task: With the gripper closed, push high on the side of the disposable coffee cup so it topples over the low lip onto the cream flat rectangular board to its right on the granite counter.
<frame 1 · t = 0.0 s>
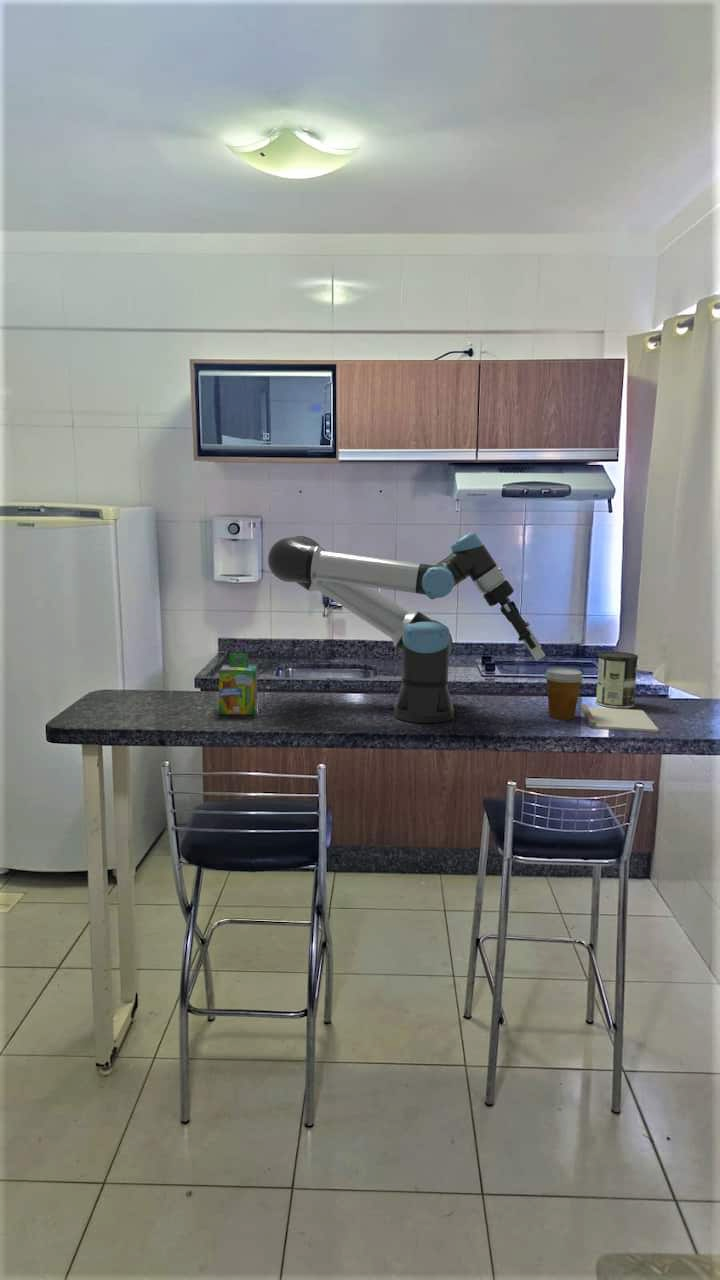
hand: (539, 653, 210), 15 cm above the countertop, tool tilted 35°, fingers open, 13 cm apart
coffee can: (614, 705, 221), on the countertop
chalk box: (238, 712, 204), on the countertop
disposable coffee cup: (561, 717, 206), on the countertop
cream flat rectangular board: (617, 719, 204), on the countertop
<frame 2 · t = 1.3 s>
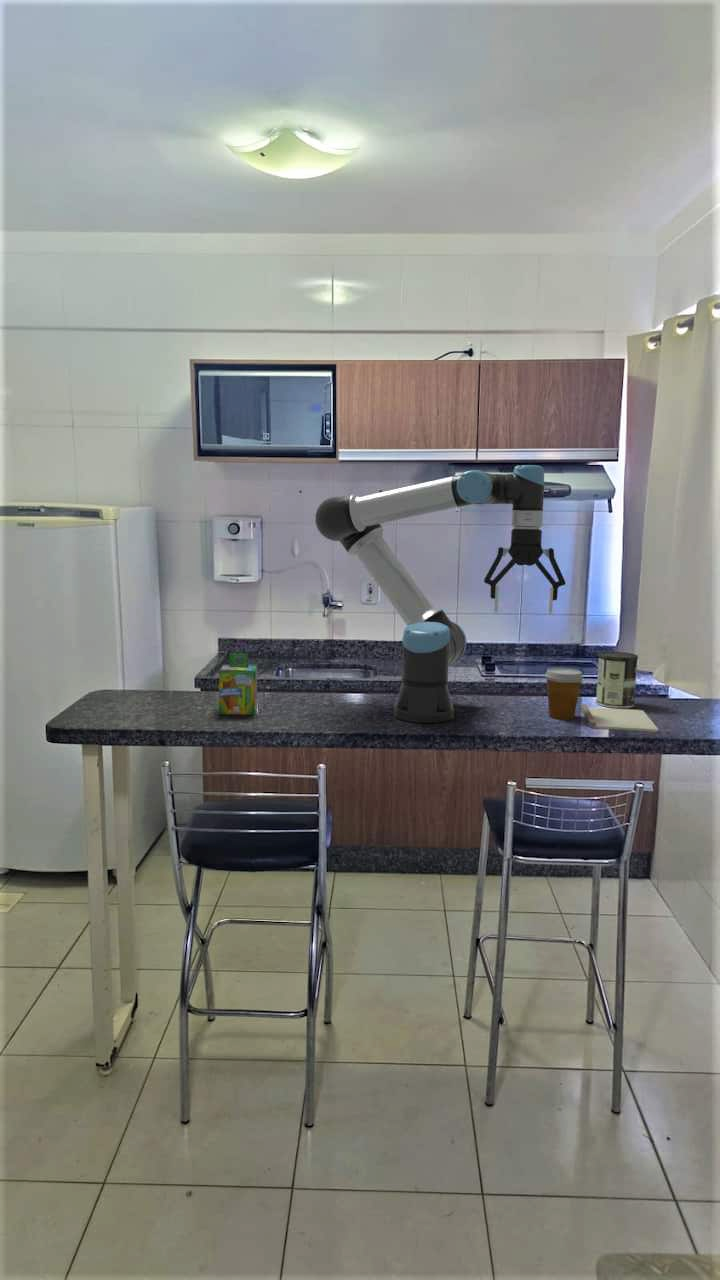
hand: (522, 612, 204), 27 cm above the countertop, tool pointing down, fingers open, 13 cm apart
nothing on the countertop moved.
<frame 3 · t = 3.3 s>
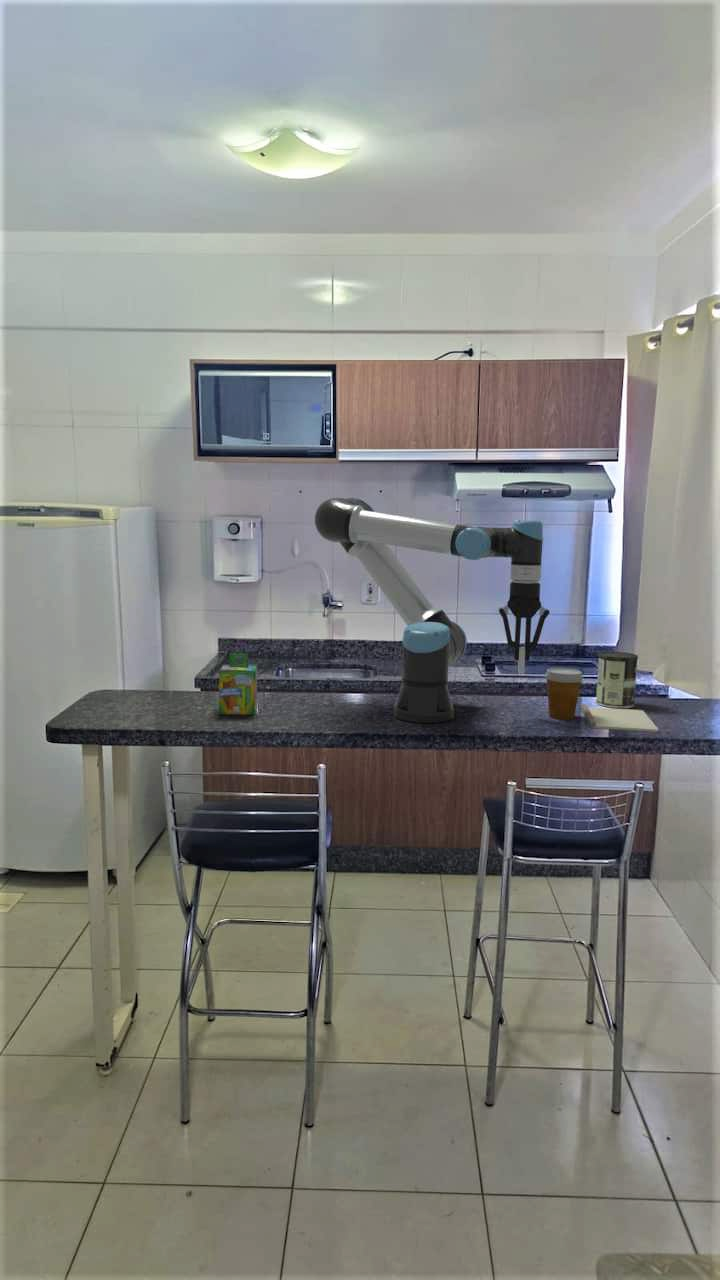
hand: (520, 672, 206), 11 cm above the countertop, tool pointing down, fingers closed
nothing on the countertop moved.
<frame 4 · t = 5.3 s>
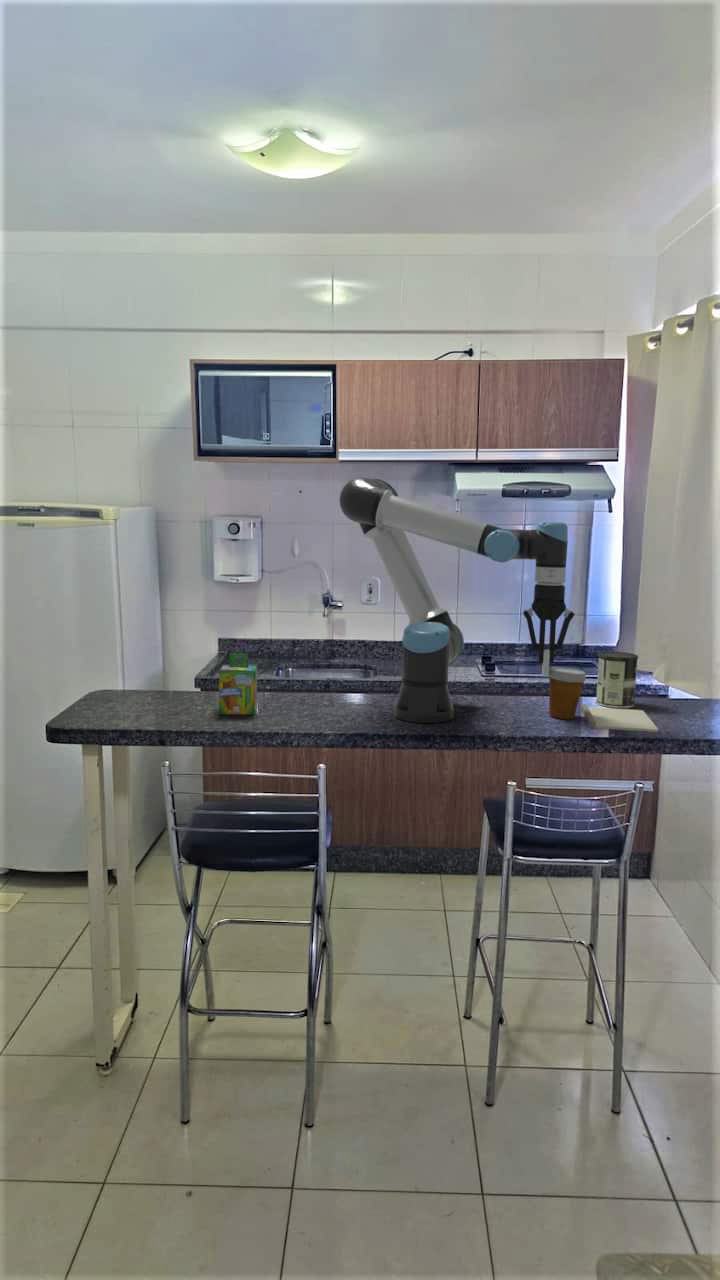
hand: (545, 675, 205), 11 cm above the countertop, tool pointing down, fingers closed
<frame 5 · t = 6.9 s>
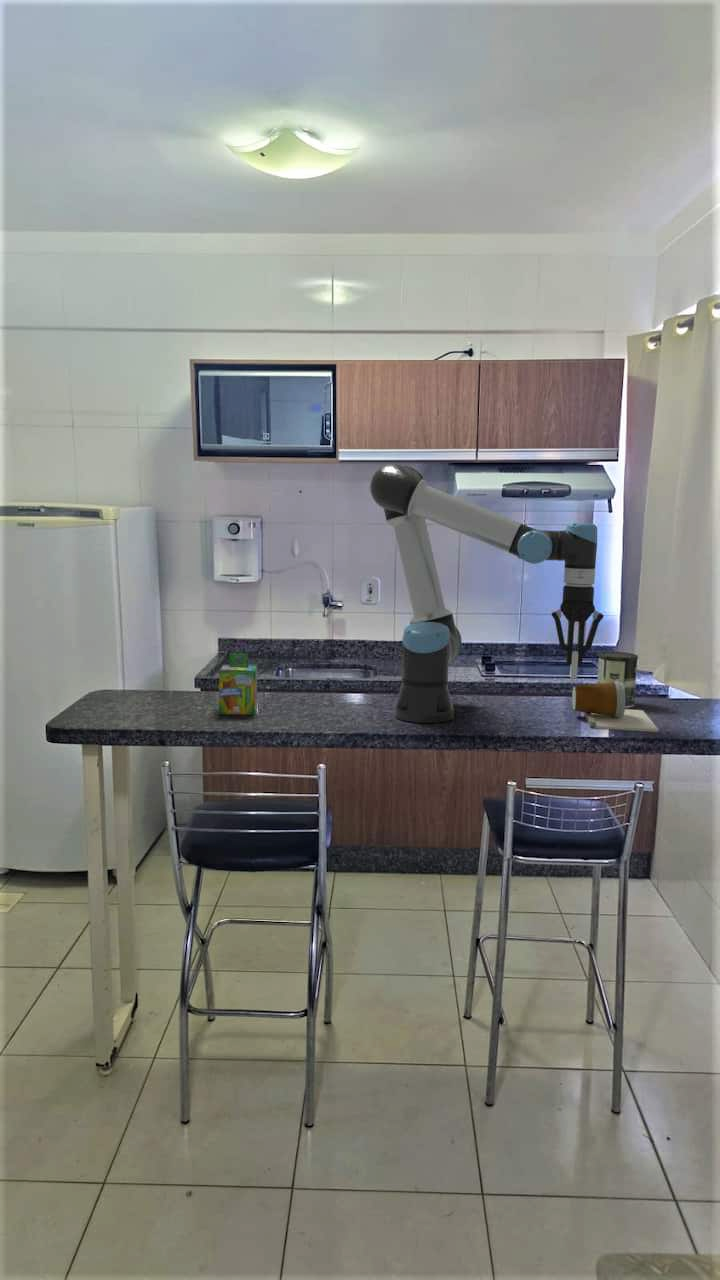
hand: (573, 677, 204), 11 cm above the countertop, tool pointing down, fingers closed
disposable coffee cup: (572, 698, 205), point 5 cm above the countertop, touching cream flat rectangular board
everything else where it was.
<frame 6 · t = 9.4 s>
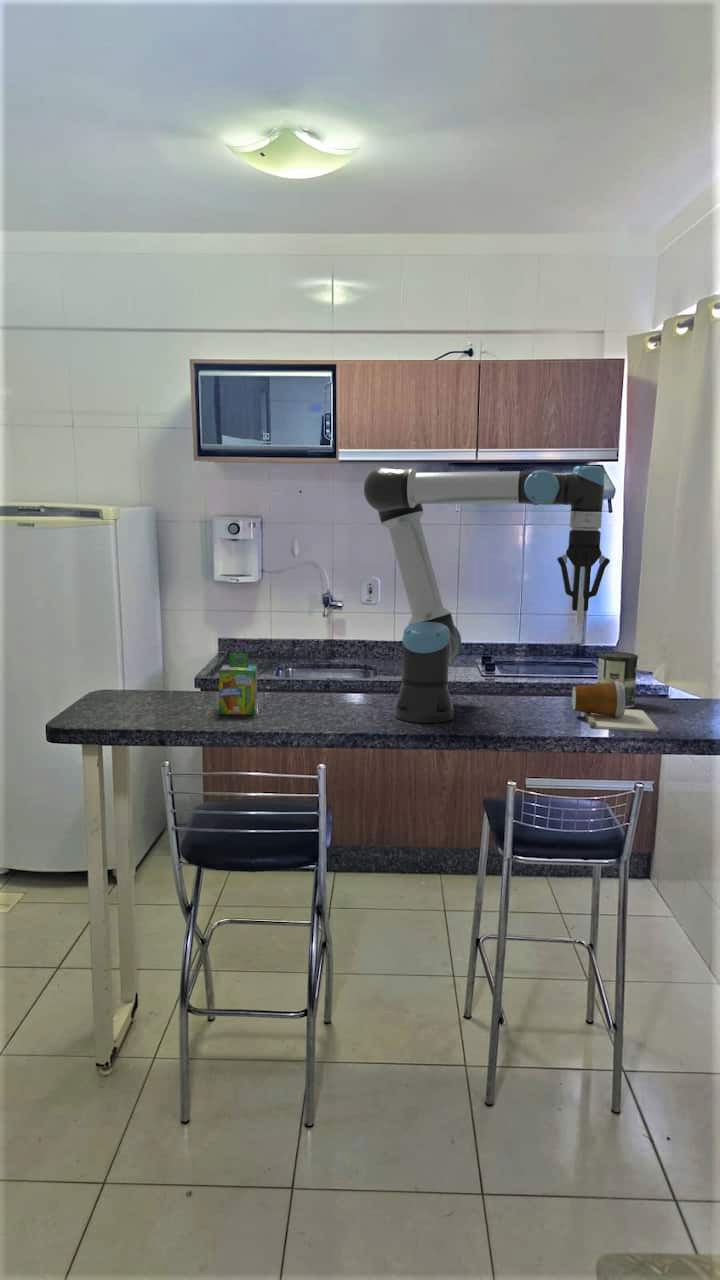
hand: (578, 623, 202), 24 cm above the countertop, tool pointing down, fingers closed
nothing on the countertop moved.
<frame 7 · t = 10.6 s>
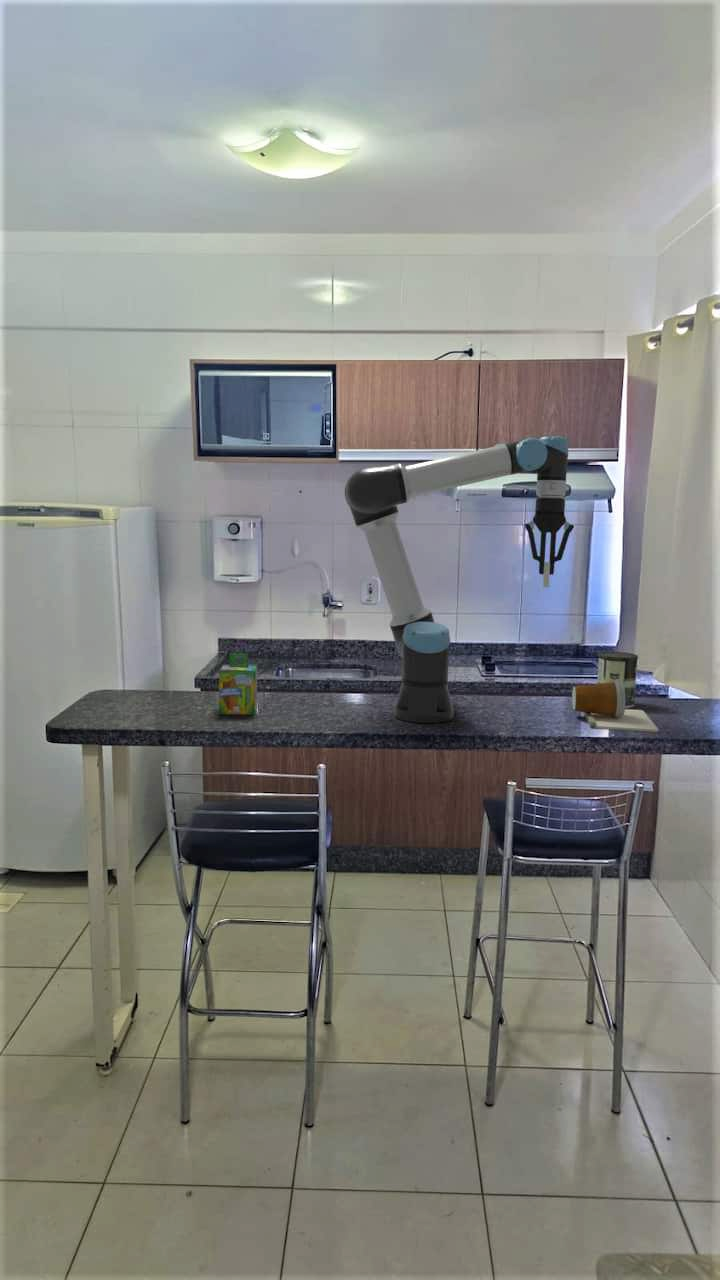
hand: (545, 586, 213), 32 cm above the countertop, tool pointing down, fingers closed
nothing on the countertop moved.
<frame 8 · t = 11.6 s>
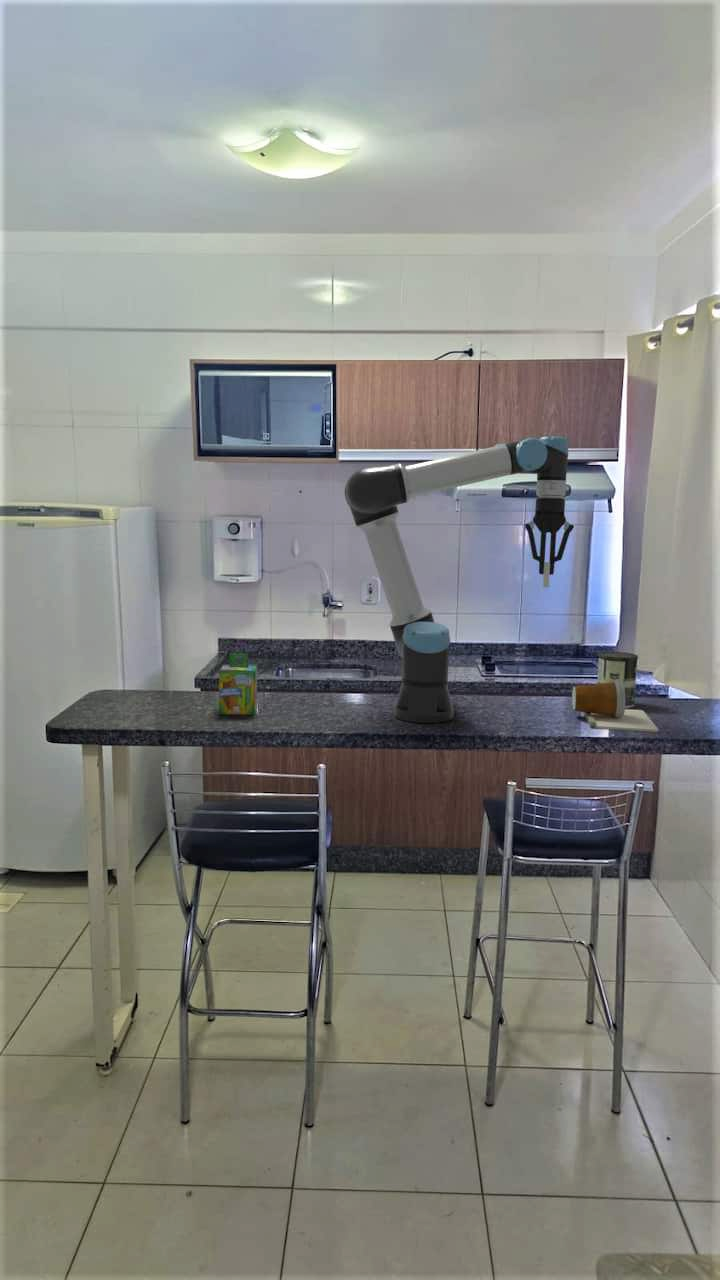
hand: (545, 586, 213), 32 cm above the countertop, tool pointing down, fingers closed
nothing on the countertop moved.
at the end: disposable coffee cup tilted 88°; disposable coffee cup inside the target area (9.9 cm from its centre), point 4.9 cm above the countertop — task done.
